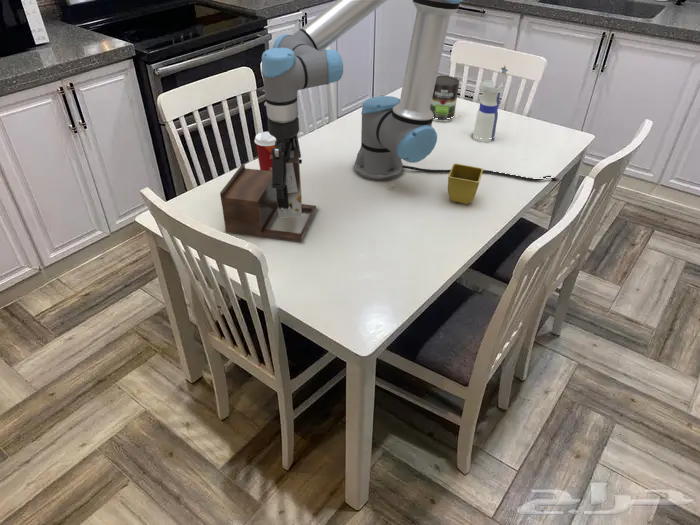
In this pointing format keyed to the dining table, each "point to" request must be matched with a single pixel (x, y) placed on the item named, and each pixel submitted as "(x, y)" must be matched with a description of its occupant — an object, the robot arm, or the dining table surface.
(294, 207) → the coffee box
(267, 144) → the paper cup
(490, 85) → the water bottle
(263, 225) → the rack
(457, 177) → the flower pot
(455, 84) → the coffee can
